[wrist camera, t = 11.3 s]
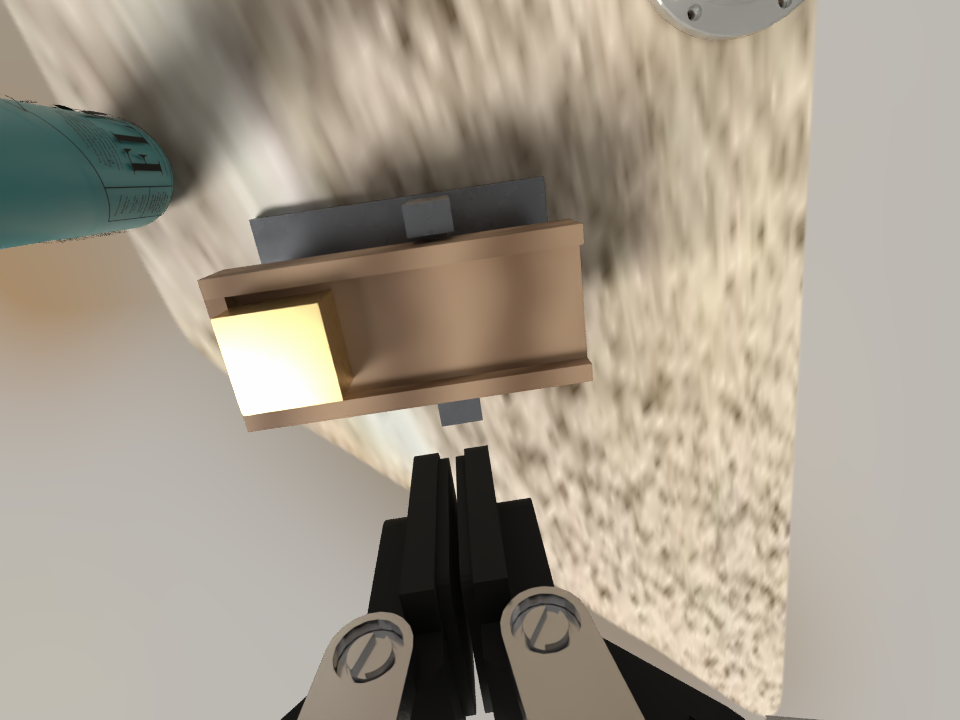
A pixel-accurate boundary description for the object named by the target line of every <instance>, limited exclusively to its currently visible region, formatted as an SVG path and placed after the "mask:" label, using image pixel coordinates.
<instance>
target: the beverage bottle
mask: <svg viewBox="0 0 960 720" xmlns="http://www.w3.org/2000/svg"><path fill="white" fill-rule="evenodd" d="M55 106H57V107H59V108H61V109H59V108H56V107H47V106H42V105H36V104H30V103H28V102H27V103H26V102H25V103H24V102H23V101H20V102H19V101H15V100H14V101H13V100H7V99H1V98H0V249H4V248H10V247H16V246H22V245H28V244H33V243H41V242H45V241H51V240H61V239H69V238H70V239H71V238H78V237H83V236H88V235H94V234H102V233H106V232H115V231H119V230H125V229H131V228H136V227H141V226H144V225H147V224H149V223H151V222H153V221H154V220H155V219H157V218H158V217H159V216H161V214H162V213H163V212H165V211H166V210H165V209H167V207H168V205H169V203H170V200H171V197H172V193H173V175H172V170H171V167H170V164H169V161H168V159H167V157H166V155H165V154H164V152H163V150H162V149H161V148H160V146H159V145H158V144H157V143H156V142H155V141H154V139H153V138H152V137H151V136H150V135H149V134H148V133H147V132H146V133H147V134H148V135H147V134H146V133H145V132H143V131H142V130H143V129H142V128H141V129H142V130H140V129H139V128H137V127H135V126H134V125H132V124H131V123H130V122H131V121H130V122H129V123H127V121H126V120H125V121H126V122H125V121H122V120H119V119H115V118H110V117H108V116H107V117H105V116H106V115H107V114H104V113H99V112H94V111H86V110H85V111H81V112H76V111H74V110H72V109H70V108H68V107H65V106H61V105H55ZM76 110H79V109H76ZM82 112H84V113H82ZM94 114H97V115H94ZM99 115H105V116H99ZM109 115H110V114H109ZM110 116H111V115H110ZM118 118H119V117H118ZM121 119H122V118H121ZM123 120H124V119H123ZM133 124H134V123H133ZM135 125H136V124H135ZM138 127H139V126H138Z"/></svg>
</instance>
